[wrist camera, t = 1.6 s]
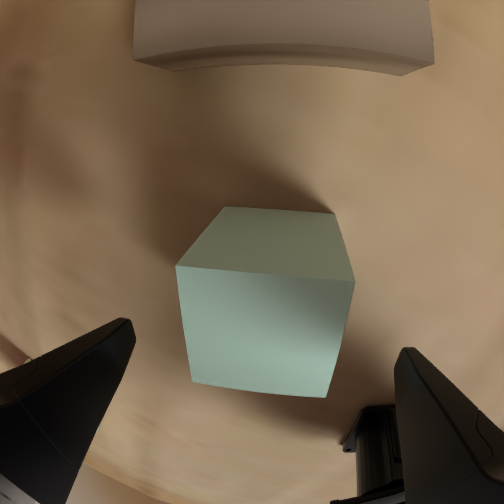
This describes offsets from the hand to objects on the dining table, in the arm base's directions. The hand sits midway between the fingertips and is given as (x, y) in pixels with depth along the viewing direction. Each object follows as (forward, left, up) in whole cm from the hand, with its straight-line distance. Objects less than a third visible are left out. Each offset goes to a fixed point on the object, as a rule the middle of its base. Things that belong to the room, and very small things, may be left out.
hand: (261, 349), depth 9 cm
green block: (0, 0, -6) cm, 6 cm away
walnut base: (+14, 0, -7) cm, 15 cm away
